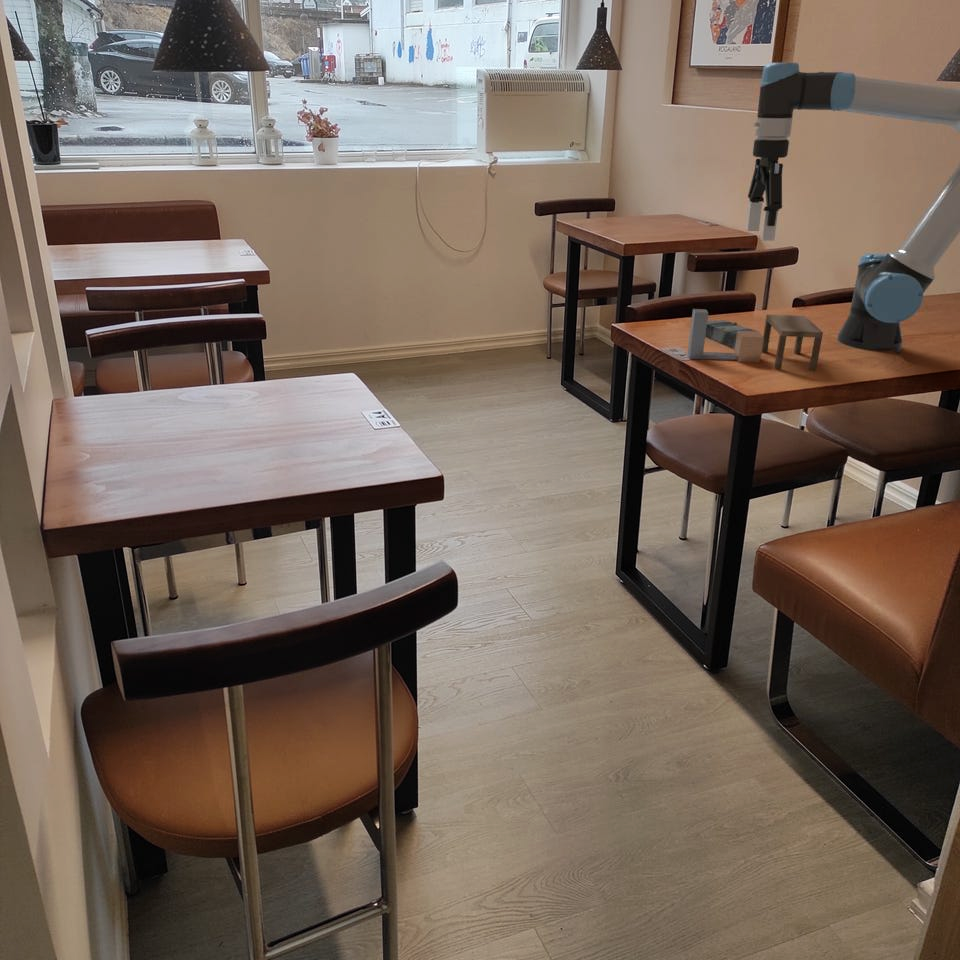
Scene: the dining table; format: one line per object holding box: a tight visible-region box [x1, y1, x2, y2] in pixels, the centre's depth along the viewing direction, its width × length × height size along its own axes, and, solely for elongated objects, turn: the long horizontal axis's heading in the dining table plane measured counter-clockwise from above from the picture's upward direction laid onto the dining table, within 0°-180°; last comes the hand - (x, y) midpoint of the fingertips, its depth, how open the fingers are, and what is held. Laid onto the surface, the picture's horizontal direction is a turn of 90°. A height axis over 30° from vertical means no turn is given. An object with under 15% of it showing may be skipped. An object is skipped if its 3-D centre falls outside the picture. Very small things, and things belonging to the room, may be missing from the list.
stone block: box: [705, 319, 760, 350], centre depth 226 cm, size 9×14×5 cm, turn 23°
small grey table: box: [761, 314, 824, 372], centre depth 209 cm, size 9×15×10 cm, turn 177°
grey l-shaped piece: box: [687, 308, 764, 364], centre depth 209 cm, size 16×5×11 cm, turn 87°
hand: (760, 235), depth 210 cm, fingers open, 13 cm apart
